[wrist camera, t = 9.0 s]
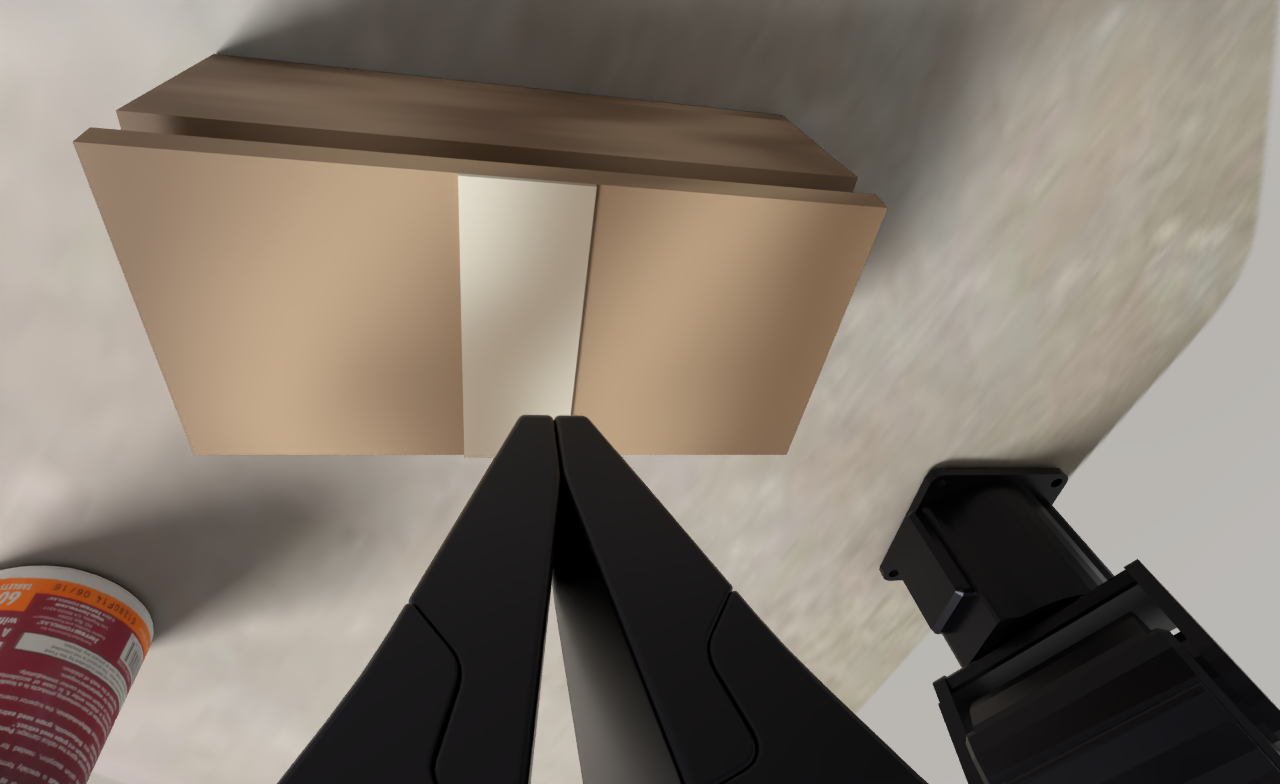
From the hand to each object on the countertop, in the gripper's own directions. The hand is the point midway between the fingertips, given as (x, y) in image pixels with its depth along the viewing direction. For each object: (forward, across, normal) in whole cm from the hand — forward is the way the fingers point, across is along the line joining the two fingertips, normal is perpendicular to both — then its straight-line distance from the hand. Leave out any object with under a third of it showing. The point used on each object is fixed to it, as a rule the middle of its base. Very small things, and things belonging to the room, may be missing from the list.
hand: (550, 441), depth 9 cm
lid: (+6, 0, +2) cm, 7 cm away
